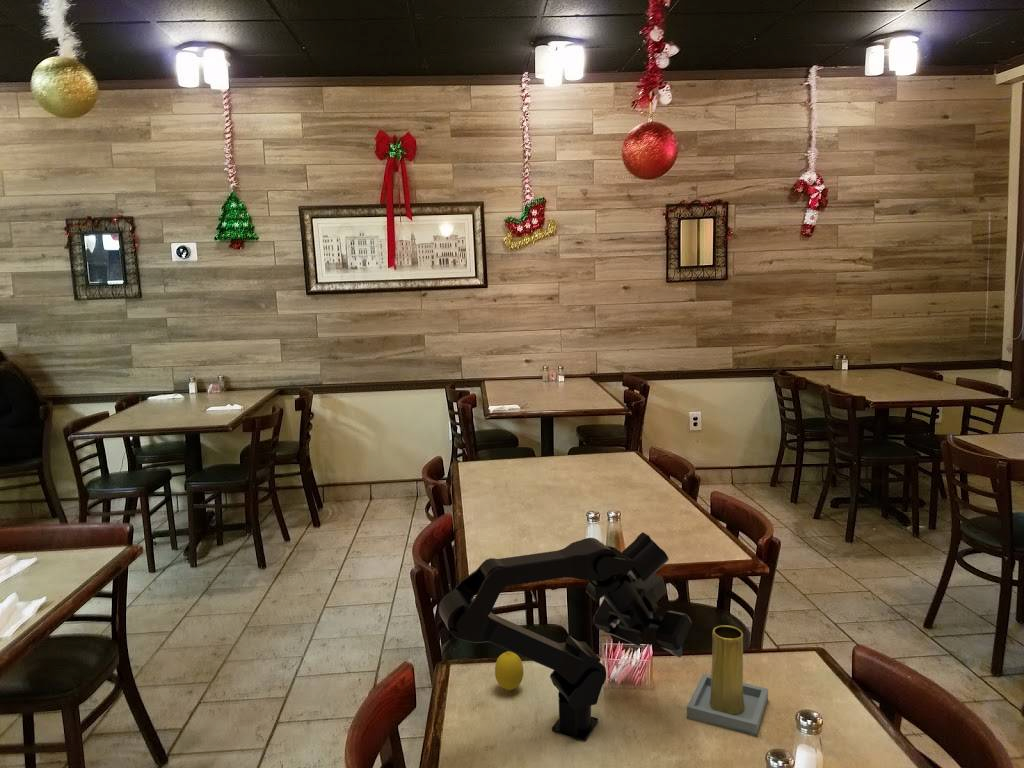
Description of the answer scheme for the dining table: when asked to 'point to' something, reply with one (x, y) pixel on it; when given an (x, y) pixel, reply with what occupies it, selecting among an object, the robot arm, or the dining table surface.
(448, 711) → the dining table surface
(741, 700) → the vase
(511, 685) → the lemon
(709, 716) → the tray
